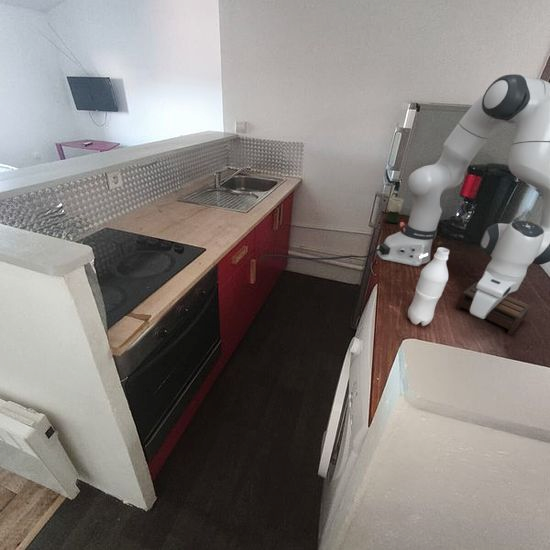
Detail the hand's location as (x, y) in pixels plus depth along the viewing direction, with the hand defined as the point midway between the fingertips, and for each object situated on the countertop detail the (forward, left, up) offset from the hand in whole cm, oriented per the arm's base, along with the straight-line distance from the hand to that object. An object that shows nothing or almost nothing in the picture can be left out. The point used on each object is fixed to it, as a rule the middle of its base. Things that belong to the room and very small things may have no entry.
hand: (482, 316), depth 90 cm
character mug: (-17, +84, -3) cm, 86 cm away
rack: (+5, +6, -3) cm, 8 cm away
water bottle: (-19, -3, -3) cm, 19 cm away
